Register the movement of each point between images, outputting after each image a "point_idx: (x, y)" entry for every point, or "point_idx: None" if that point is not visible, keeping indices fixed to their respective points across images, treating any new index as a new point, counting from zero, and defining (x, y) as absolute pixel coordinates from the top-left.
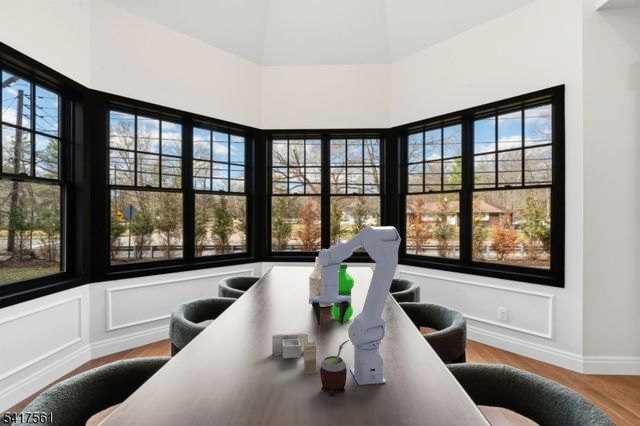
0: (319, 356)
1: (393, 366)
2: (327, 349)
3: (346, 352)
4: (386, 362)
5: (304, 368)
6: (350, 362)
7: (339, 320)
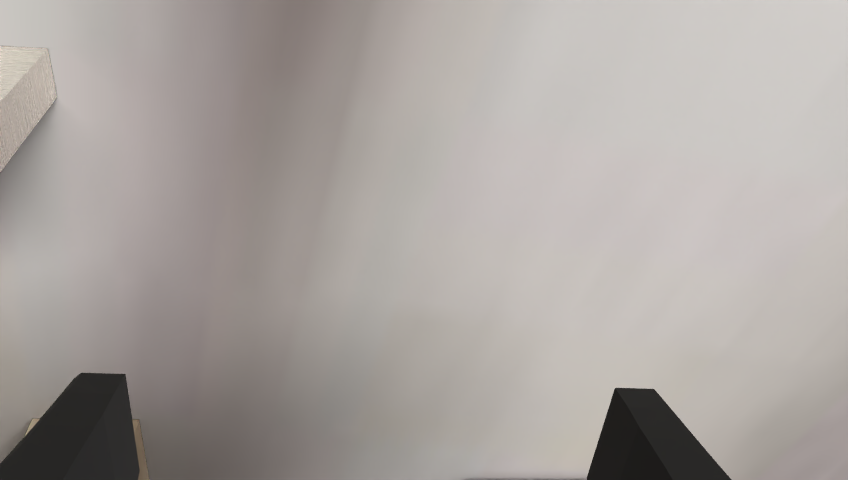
0: (215, 210)
1: (844, 475)
2: (364, 26)
3: (588, 165)
4: (845, 418)
5: None
6: (521, 376)
7: (627, 436)
